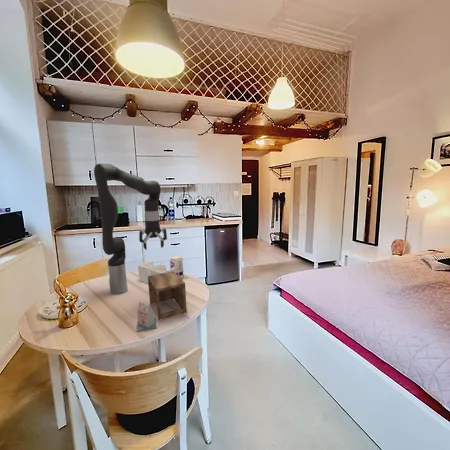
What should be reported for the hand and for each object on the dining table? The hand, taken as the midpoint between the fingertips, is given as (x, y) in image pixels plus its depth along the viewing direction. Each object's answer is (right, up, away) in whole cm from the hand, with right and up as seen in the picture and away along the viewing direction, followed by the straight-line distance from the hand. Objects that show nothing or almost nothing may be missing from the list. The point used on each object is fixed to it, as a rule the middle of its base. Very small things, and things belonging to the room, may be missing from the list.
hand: (153, 248), depth 139 cm
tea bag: (+3, -33, -22) cm, 40 cm away
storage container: (-6, -25, +29) cm, 39 cm away
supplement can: (+7, -24, +34) cm, 42 cm away
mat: (+3, -33, -22) cm, 40 cm away
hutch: (+8, -30, -7) cm, 32 cm away
